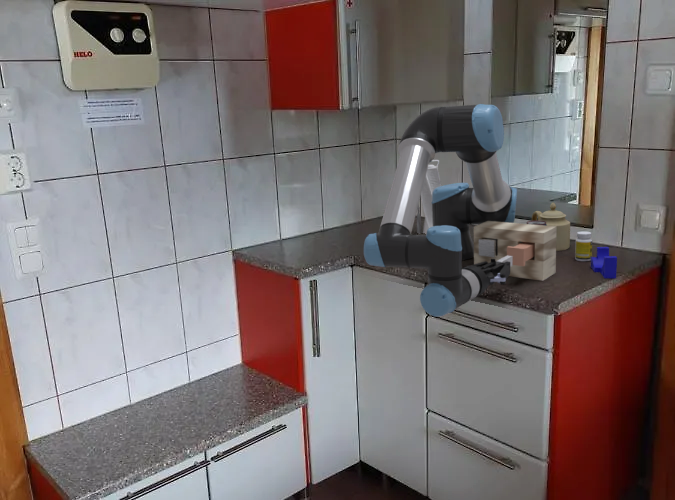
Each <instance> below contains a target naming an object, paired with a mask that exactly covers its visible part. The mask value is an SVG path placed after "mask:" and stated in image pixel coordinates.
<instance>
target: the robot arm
mask: <svg viewBox="0 0 675 500" xmlns="http://www.w3.org/2000/svg"><path fill="white" fill-rule="evenodd" d="M504 138H505V129H504V120H503V115H502V113H501V111H500V109H499V108H498V107H497V106H496V105H494V104H483V103H479V104H467V105H451V106H435V107H431V108H429V109H427V110H425V111H423V112H421V114H419V115H418V116H416V117H415V118H414V119H413V121H411V122H410V124H409V125H408V126H407V128H406V129H405V130H404V132H403V133H402V136H401V138H400V141H399V143H398V146H397V147H398V148H397V152H398V155H399V158H398V162H397V166H396V169H395V172H394V176H393V181H392V182H391V183H392V184H391V188H390V191H389V194H388V198H387V201H386V205H385V209H384V212H383V217H382V219H381V223H380V226H379V230H378V233H377V232H375V233H369V234H367V236H366V237H365V239H364V242H363V243H364V244H363V256H364V259H365V262H366V263H367V264H368V265H370V266H375V267H382V268H407V269H408V268H409V269H423V270H425V269H426V270H427V279H428V280H427V282H428V285H426V286H424V288H423V289H422V291H421V292H420V296H419V300H420V301H419V302H420V304H421V307H422V308H423V310H424V311H425V313H427V314H429V315H430V316H432V317H435V318H436V317H437V318H438V317H443V316H446V315H448V314H450V313H453V312H454V311H455V310H457V309H459V307H461V306H463V305H465V304H466V303H468V302H470V301H471V300H474V299H475V298H477V297H479V296H480V295H483V294H484V293H485V291H486V290H487V288H488V287H489V286H492V285H494V284H495V283H498V284H500V285H502V286H504V285H506V280H507V279H508V278H509V277H510V276H509V275H510V267H511V266H512V262H513V256H508V255H507V256H505V257H503V258H501V259H499V260H498V261H495V259H491V262H490V263H488V262H487V261H484V262H481V263H477V264H474V263H473V264H471V265H466V266H465V267H463V261H465V260H470V259H472V258H474V240H473V238H472V237H471V233H470V225H475V226H476V225H479V224H481V223H484V222H486V221H496V222H508V223H515V219H516V218H515V217H516V211H517V200H518V199H517V198H518V197H517V196H518V188H516V187H512V186H510V185H509V184H508V183H507V182H506V181H505V180H503V176H502V173H501V169H500V165H499V160H498V157H497V156H498V155H497V152H498V151H499V150H501V148H502V147H503V144H504ZM437 153H455V154H456V157H458V158H459V160H461V162H464V163H465V166H466V169H467V172H468V175H469V178H470V182H471V184H472V187H470V185H469V183H468V182H457V183H449V184H445V185H441V186H440V187H437V188H435V189H434V190H433V192H432V218H433V227H430V228H429V229H428V230H427V234H426V235H417V234H412V232H413V228H414V223H415V219H416V217H417V213H418V209H417V208H418V204H419V205H420V200H421V192H422V189H423V185H424V181H425V177H426V173H427V169H428V165H430V163H431V161H432V160H435V157H436V154H437Z"/></svg>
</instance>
